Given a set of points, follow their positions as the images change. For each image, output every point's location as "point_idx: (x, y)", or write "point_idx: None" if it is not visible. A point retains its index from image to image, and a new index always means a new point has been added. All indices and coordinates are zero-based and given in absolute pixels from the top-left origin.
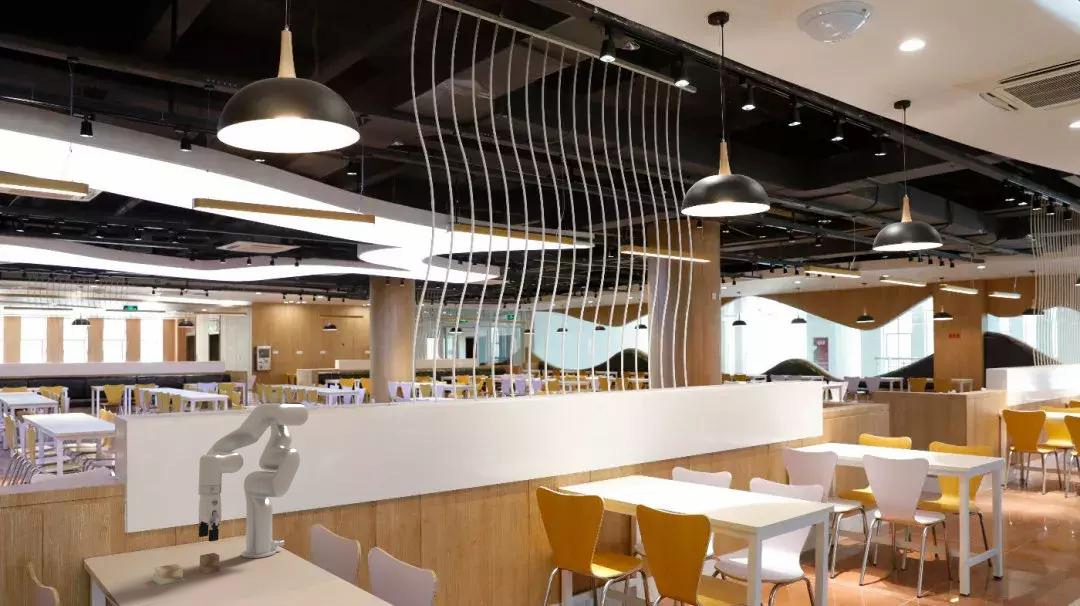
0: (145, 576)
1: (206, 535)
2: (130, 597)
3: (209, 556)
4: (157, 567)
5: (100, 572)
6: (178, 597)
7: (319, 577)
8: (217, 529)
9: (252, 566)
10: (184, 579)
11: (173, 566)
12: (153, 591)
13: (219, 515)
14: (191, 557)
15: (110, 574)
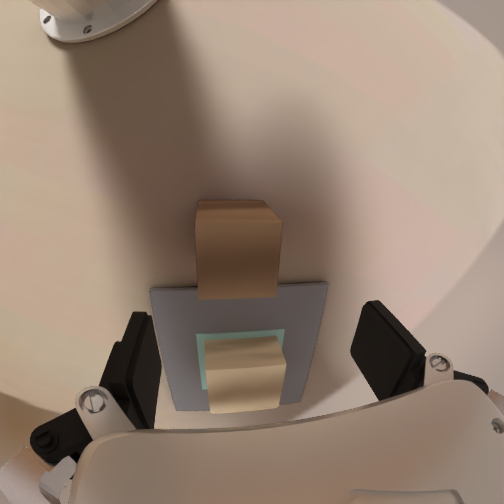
0: None
1: (152, 326)
2: (298, 416)
3: (263, 271)
4: (216, 409)
5: (54, 409)
6: None
7: (488, 58)
8: (419, 356)
9: (274, 56)
10: (281, 332)
11: (242, 381)
12: None
13: (498, 435)
14: None
15: None
